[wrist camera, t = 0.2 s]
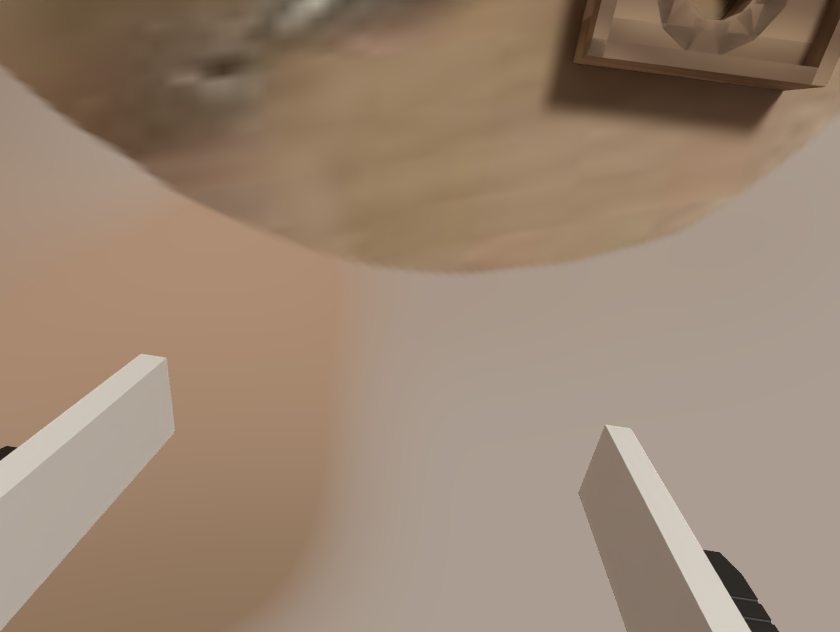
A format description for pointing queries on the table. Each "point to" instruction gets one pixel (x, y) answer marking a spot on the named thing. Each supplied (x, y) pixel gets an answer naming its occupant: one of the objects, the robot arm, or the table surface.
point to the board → (716, 41)
